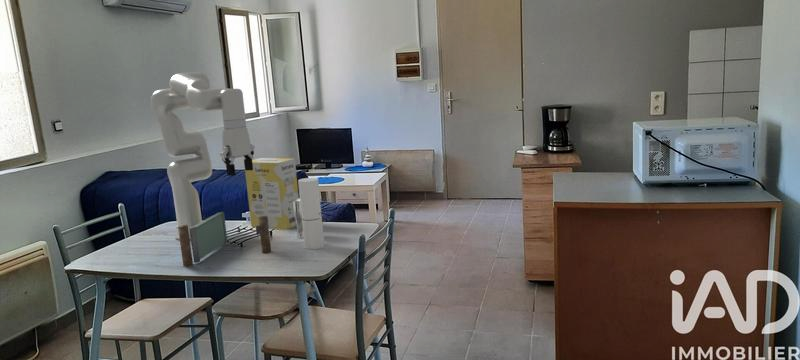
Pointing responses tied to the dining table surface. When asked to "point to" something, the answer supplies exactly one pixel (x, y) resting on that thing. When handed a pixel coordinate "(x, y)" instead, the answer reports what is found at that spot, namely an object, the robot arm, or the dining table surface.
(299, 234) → the beer glass
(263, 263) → the dining table surface
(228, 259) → the dining table surface
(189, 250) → the hinge post
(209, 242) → the gate
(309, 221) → the cylindrical container
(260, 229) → the post
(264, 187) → the pasta box
